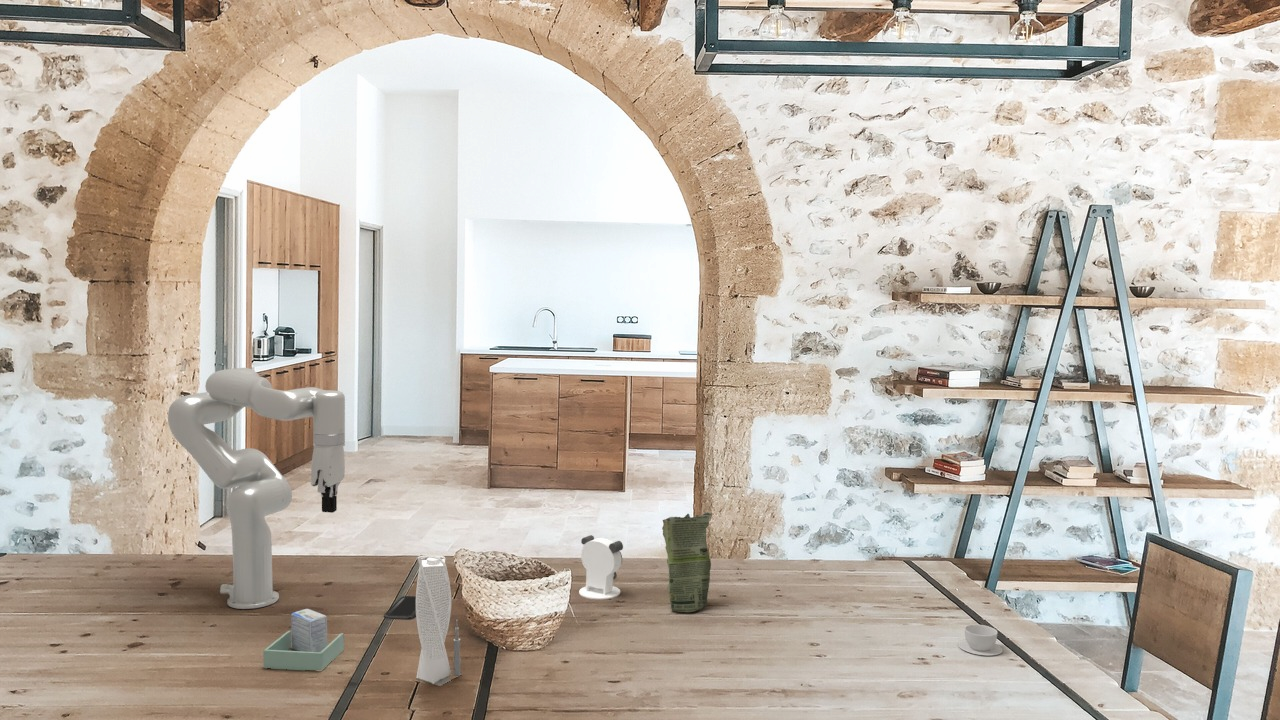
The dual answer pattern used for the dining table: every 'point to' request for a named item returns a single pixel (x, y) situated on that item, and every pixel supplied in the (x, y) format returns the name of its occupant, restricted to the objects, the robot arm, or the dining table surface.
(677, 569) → the pouch
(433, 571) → the skyscraper
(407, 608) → the phone
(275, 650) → the box
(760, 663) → the dining table surface
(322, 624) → the medicine box
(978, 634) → the teacup
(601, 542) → the panda figurine
